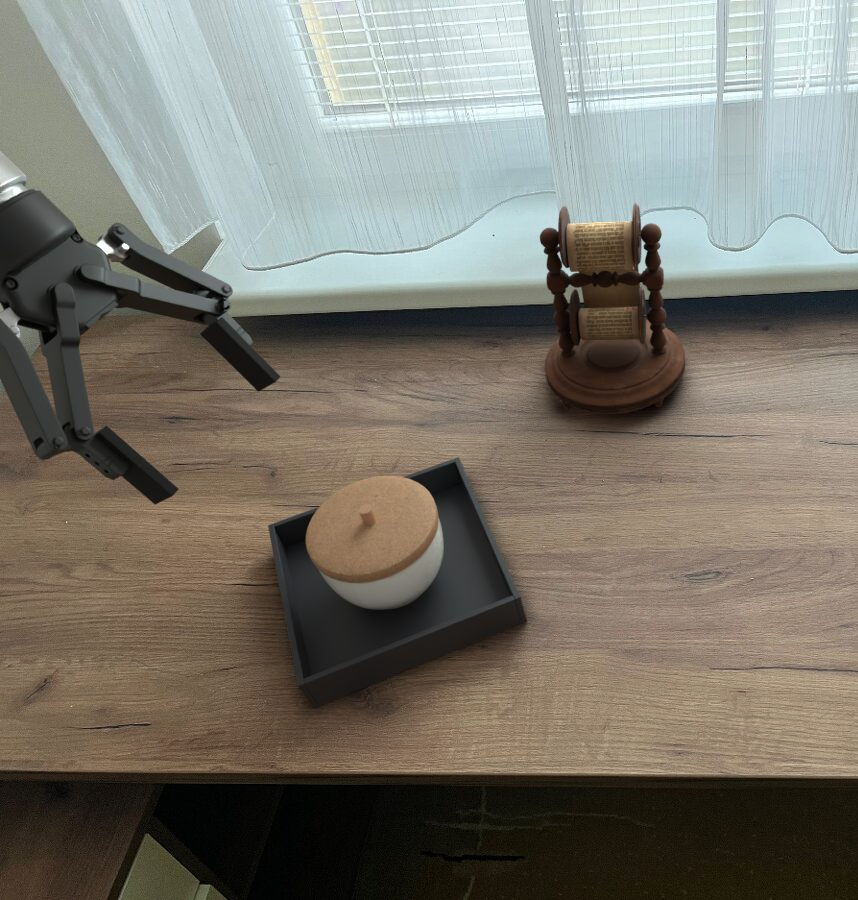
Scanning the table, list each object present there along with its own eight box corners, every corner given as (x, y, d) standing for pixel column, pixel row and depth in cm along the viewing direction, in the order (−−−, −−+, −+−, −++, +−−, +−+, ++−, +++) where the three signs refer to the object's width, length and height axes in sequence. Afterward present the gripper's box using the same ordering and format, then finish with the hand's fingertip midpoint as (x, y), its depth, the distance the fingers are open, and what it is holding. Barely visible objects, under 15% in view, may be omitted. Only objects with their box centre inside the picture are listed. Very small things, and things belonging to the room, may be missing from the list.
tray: (312, 708, 68) (297, 686, 66) (281, 548, 81) (267, 525, 78) (527, 621, 72) (520, 597, 70) (466, 481, 85) (458, 456, 82)
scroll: (687, 333, 98) (680, 165, 84) (684, 424, 87) (675, 249, 73) (557, 336, 100) (529, 173, 86) (538, 425, 89) (504, 256, 75)
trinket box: (471, 536, 79) (447, 464, 72) (435, 637, 71) (406, 567, 65) (360, 529, 81) (328, 458, 74) (315, 626, 74) (275, 557, 67)
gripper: (91, 163, 71) (281, 359, 80) (-193, 341, 54) (91, 564, 63) (133, 118, 66) (329, 330, 75) (-161, 296, 49) (139, 543, 58)
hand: (222, 437), depth 69 cm, fingers open, 13 cm apart
